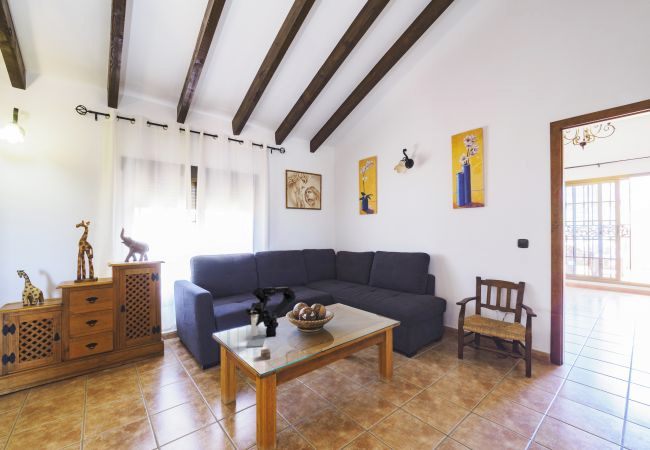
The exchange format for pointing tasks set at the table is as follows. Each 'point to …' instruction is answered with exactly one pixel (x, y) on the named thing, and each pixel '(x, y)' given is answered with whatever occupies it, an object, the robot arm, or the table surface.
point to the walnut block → (265, 354)
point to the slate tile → (256, 343)
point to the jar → (254, 324)
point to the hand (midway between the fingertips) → (253, 325)
